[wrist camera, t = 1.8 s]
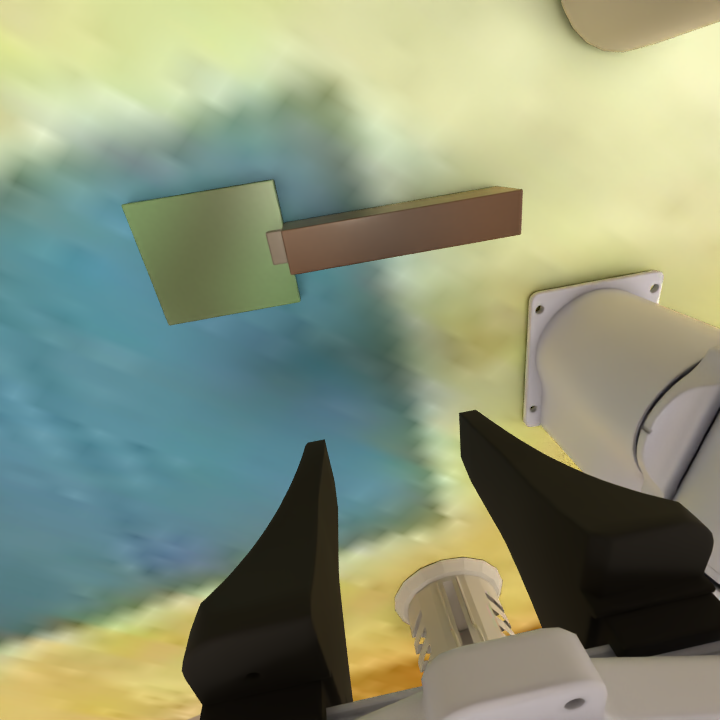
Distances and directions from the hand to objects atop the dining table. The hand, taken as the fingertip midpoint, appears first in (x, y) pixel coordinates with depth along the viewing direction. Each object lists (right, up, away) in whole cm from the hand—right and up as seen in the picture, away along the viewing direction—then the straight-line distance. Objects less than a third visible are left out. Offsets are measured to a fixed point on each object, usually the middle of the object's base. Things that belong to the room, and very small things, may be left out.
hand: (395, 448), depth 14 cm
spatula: (-3, +10, +6) cm, 12 cm away
